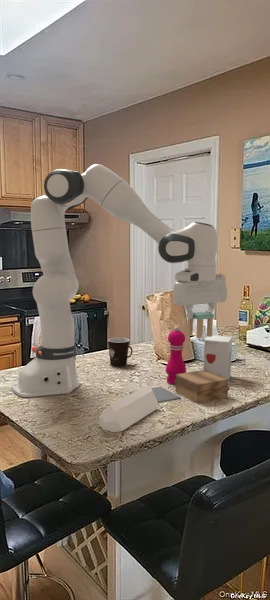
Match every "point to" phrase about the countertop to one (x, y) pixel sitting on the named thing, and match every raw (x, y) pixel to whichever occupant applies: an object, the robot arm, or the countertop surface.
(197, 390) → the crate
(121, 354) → the coffee mug
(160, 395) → the mat
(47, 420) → the countertop surface
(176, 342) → the pepper mill
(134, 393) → the crystal
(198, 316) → the stool
